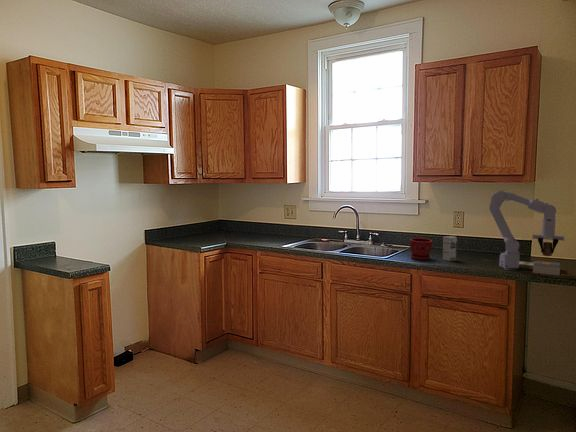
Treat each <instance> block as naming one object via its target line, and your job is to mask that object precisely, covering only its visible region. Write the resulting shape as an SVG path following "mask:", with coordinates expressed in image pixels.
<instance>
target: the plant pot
mask: <svg viewBox="0 0 576 432" xmlns="http://www.w3.org/2000/svg"><path fill="white" fill-rule="evenodd" d="M409 241H410V243H409V245H410V246H409V247H410V253H411V254H410V257H411V258H412V259H413V260H420V261H423V260H425V261H426V260H429V259H430V258H431V255H430V254H431V251H432V249H433V240H432V239H429V238H424V237H423V238H422V237H421V238H420V237H415V238H410V239H409Z"/></svg>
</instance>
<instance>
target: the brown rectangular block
mask: <svg viewBox="0 0 576 432" xmlns="http://www.w3.org/2000/svg"><path fill="white" fill-rule="evenodd" d="M552 247H553V242H549V241H543V253H542V256H546V257H552V256H553V254H552Z"/></svg>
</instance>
